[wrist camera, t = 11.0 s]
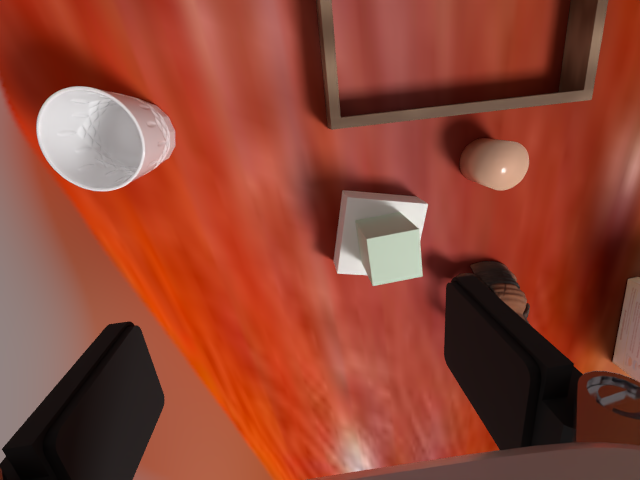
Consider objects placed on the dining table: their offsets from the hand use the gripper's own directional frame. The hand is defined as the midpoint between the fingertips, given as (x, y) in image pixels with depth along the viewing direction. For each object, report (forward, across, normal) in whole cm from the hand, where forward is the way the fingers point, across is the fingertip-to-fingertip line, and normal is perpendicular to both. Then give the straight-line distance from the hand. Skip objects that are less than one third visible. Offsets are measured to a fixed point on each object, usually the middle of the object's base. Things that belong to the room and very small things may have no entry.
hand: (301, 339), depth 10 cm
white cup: (+31, +15, -6) cm, 34 cm away
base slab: (+31, -9, +8) cm, 33 cm away
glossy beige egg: (+30, -22, +1) cm, 37 cm away
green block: (+26, -9, +8) cm, 29 cm away
